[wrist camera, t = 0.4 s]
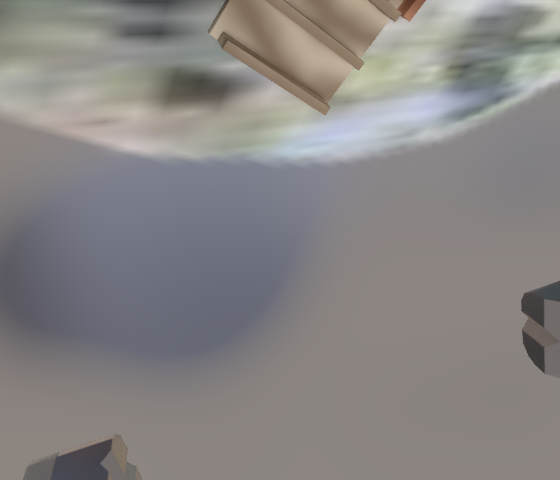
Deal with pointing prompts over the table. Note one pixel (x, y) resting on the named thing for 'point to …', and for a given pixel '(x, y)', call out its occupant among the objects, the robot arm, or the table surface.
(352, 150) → the table surface
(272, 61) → the rack
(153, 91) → the table surface
